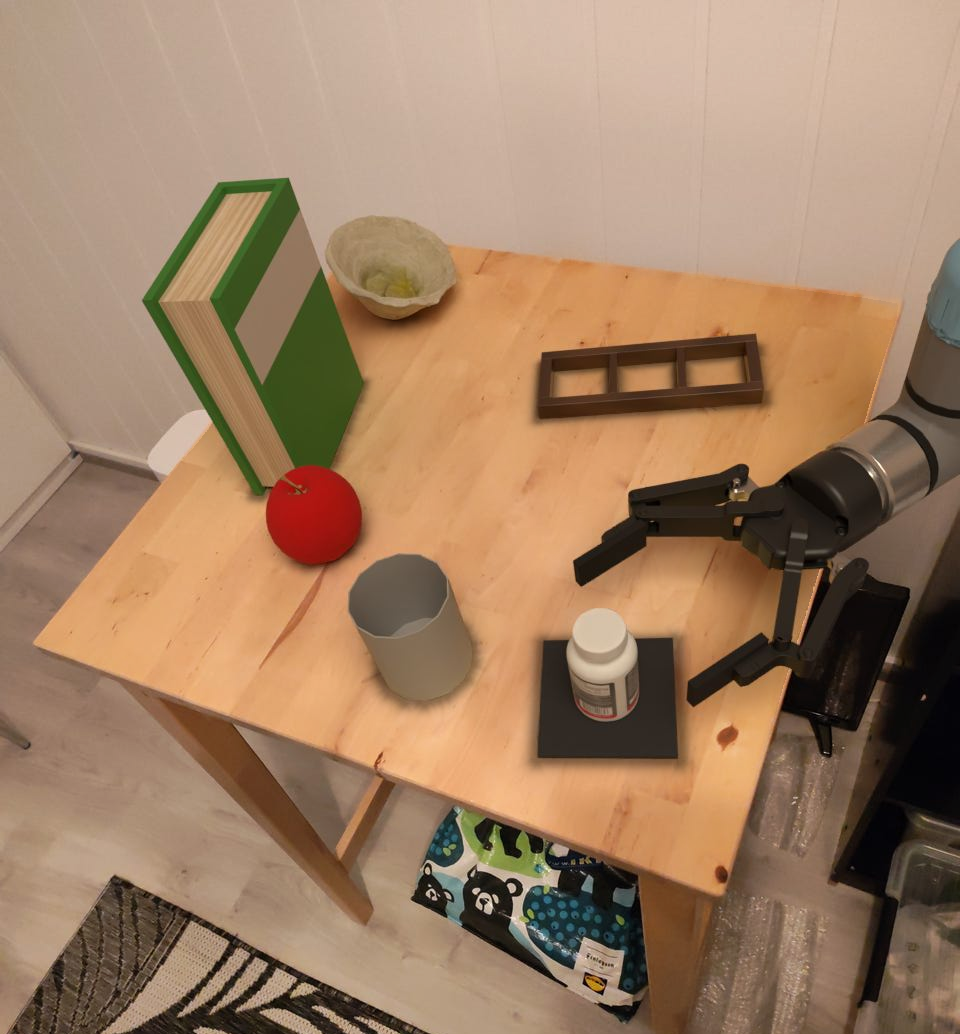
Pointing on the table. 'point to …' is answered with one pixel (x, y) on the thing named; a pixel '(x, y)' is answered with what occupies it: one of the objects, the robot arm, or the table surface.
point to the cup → (411, 625)
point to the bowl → (390, 264)
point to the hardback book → (258, 330)
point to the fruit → (313, 514)
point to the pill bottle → (603, 665)
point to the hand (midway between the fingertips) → (629, 631)
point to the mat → (626, 738)
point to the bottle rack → (651, 398)
